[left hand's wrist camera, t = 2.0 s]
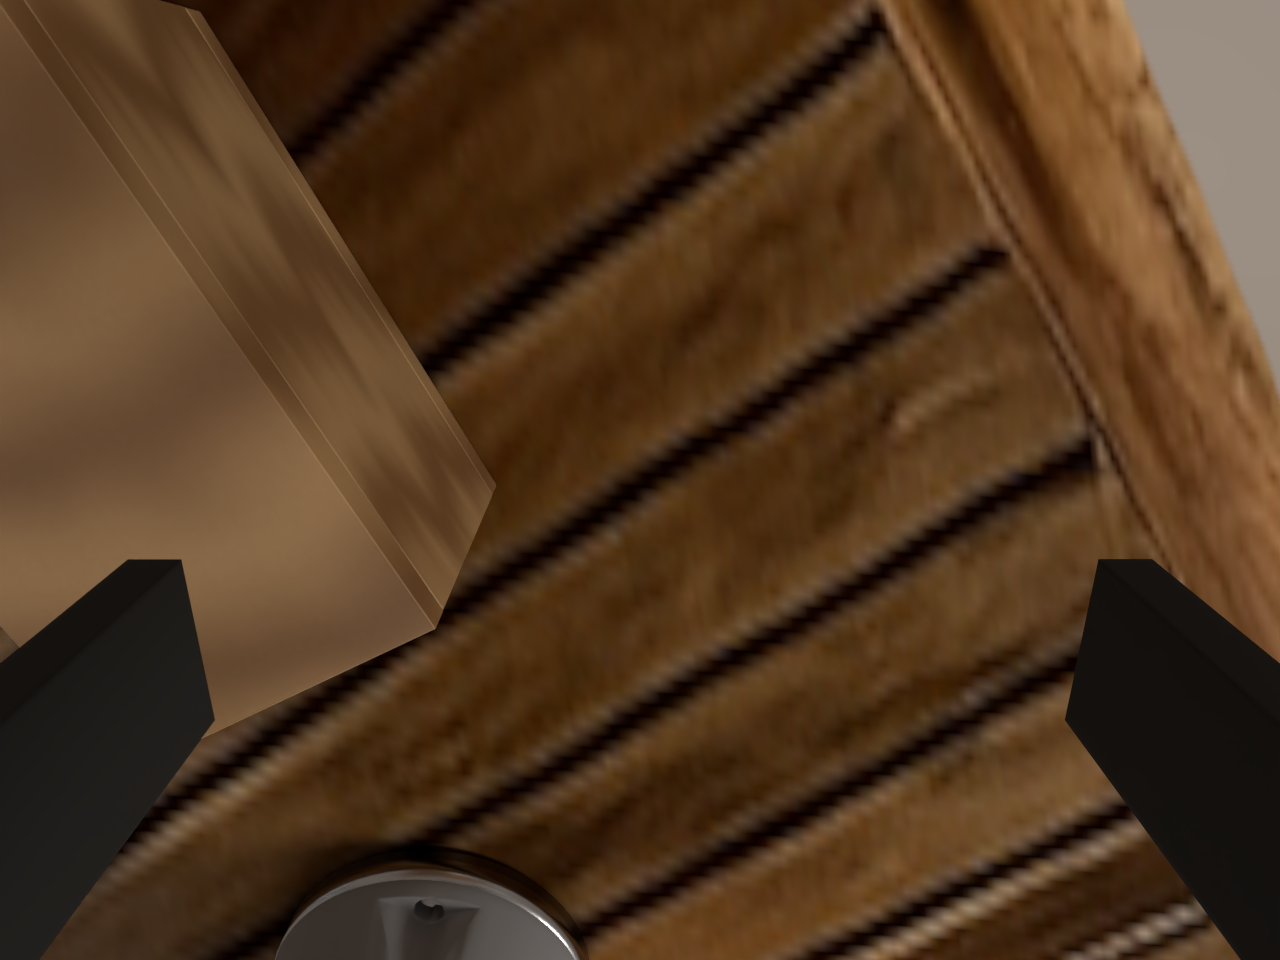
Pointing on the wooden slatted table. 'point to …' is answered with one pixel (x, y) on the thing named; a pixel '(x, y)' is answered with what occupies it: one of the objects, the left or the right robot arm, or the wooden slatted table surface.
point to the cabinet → (203, 366)
